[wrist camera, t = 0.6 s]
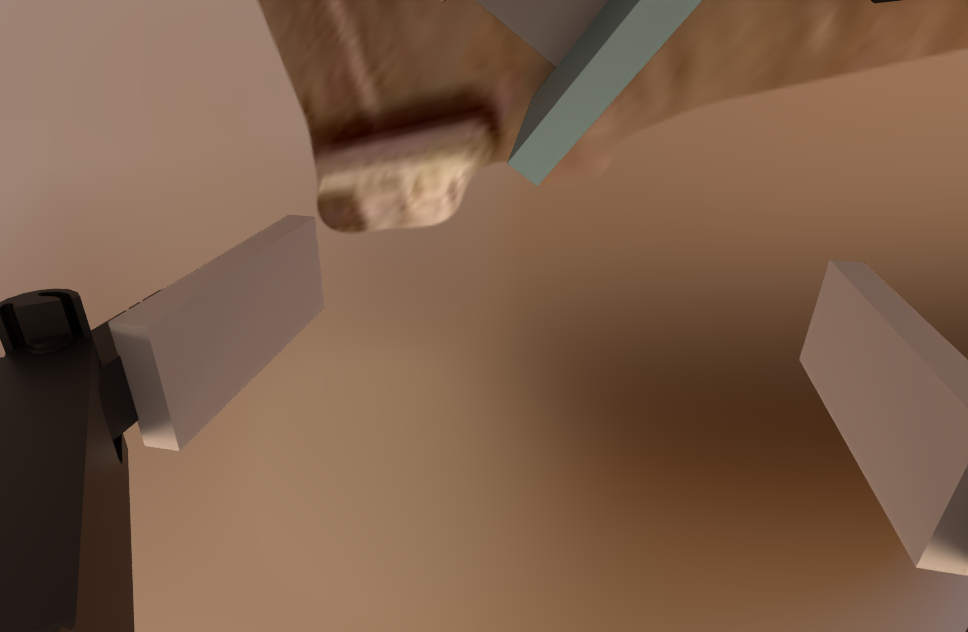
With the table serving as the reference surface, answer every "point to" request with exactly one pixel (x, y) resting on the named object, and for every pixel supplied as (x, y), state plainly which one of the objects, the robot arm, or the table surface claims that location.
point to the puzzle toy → (880, 0)
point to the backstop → (581, 64)
